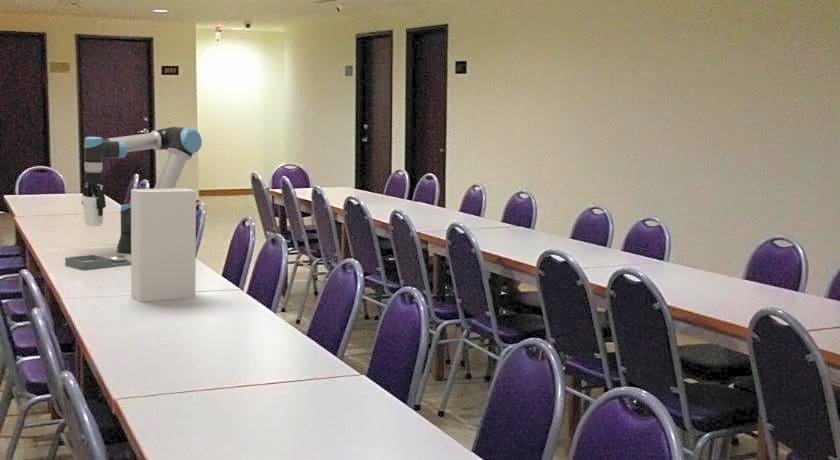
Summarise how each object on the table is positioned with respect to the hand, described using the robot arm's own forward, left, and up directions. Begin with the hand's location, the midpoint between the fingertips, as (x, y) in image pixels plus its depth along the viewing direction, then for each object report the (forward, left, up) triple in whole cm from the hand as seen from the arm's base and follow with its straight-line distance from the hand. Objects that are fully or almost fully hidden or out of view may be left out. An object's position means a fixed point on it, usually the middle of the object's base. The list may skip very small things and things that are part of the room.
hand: (93, 221), depth 426 cm
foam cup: (0, 0, -2) cm, 2 cm away
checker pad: (-3, +12, -16) cm, 20 cm away
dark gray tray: (+4, +12, -18) cm, 21 cm away
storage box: (+24, +86, -18) cm, 91 cm away
